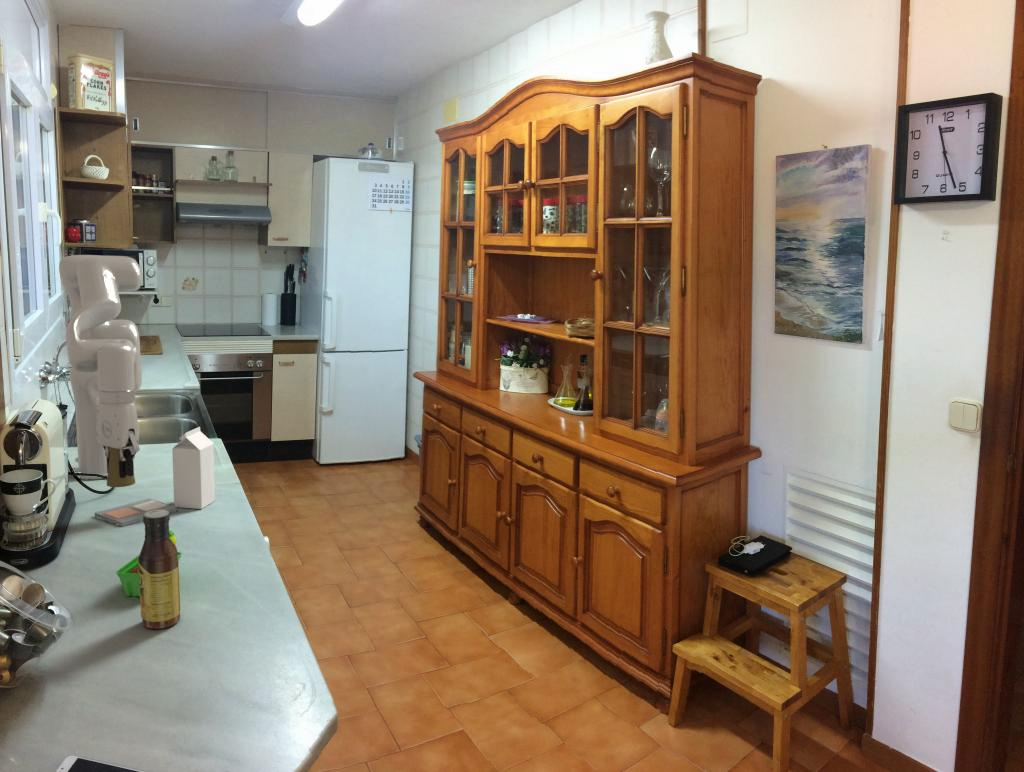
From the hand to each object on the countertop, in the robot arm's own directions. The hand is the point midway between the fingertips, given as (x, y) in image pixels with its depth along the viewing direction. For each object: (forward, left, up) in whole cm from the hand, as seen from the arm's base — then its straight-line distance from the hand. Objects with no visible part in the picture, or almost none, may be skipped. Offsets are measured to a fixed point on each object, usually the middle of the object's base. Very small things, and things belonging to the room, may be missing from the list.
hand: (120, 474), depth 186 cm
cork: (0, 0, -2) cm, 2 cm away
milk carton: (+4, +17, -11) cm, 20 cm away
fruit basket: (+40, -18, -11) cm, 45 cm away
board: (0, +4, -11) cm, 11 cm away
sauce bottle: (+54, -26, -11) cm, 61 cm away
